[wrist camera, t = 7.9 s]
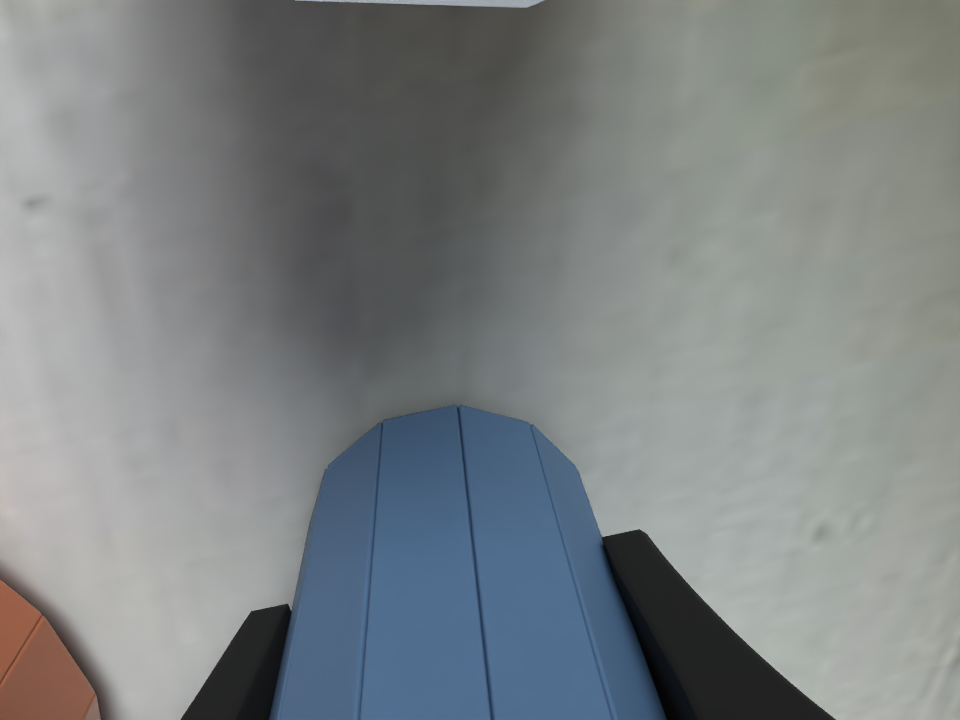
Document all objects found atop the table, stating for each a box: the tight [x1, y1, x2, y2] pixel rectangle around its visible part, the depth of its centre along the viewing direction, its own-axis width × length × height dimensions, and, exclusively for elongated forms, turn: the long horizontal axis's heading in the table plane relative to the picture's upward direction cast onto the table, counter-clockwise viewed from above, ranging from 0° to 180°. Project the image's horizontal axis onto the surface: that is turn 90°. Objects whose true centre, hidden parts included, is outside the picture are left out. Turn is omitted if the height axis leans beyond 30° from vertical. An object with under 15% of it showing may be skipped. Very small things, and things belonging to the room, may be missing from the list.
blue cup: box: [269, 405, 667, 720], centre depth 10 cm, size 5×5×6 cm
